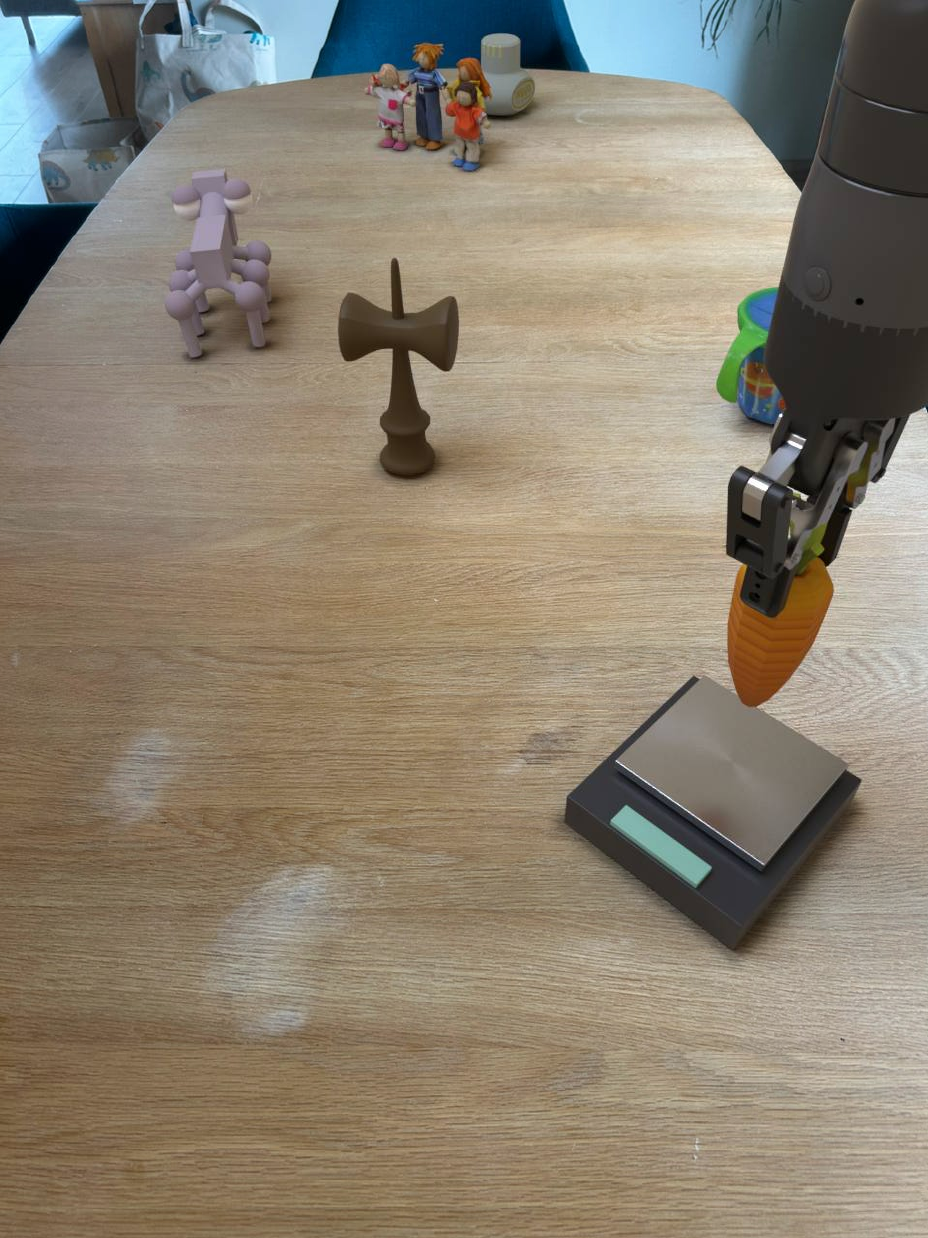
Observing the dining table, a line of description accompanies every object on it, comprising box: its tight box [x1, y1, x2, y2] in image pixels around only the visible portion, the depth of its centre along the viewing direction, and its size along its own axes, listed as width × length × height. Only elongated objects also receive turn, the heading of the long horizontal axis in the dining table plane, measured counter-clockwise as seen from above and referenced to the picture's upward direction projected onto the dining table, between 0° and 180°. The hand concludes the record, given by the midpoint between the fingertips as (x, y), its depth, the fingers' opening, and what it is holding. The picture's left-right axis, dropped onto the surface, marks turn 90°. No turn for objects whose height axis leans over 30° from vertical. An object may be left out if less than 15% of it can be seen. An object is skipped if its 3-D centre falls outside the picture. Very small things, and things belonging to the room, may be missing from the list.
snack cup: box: [715, 286, 786, 425], centre depth 95 cm, size 16×10×10 cm
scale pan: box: [614, 675, 850, 872], centre depth 64 cm, size 10×11×1 cm
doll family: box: [363, 42, 493, 172], centre depth 141 cm, size 21×10×13 cm, turn 55°
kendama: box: [337, 257, 460, 476], centre depth 86 cm, size 6×10×20 cm, turn 81°
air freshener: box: [480, 32, 536, 117], centre depth 153 cm, size 11×8×10 cm
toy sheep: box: [164, 168, 272, 358], centre depth 108 cm, size 20×11×14 cm, turn 5°
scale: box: [563, 675, 863, 951], centre depth 65 cm, size 14×13×4 cm
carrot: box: [726, 491, 835, 708], centre depth 54 cm, size 5×5×15 cm
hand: (787, 580), depth 52 cm, fingers closed on carrot, 4 cm apart
